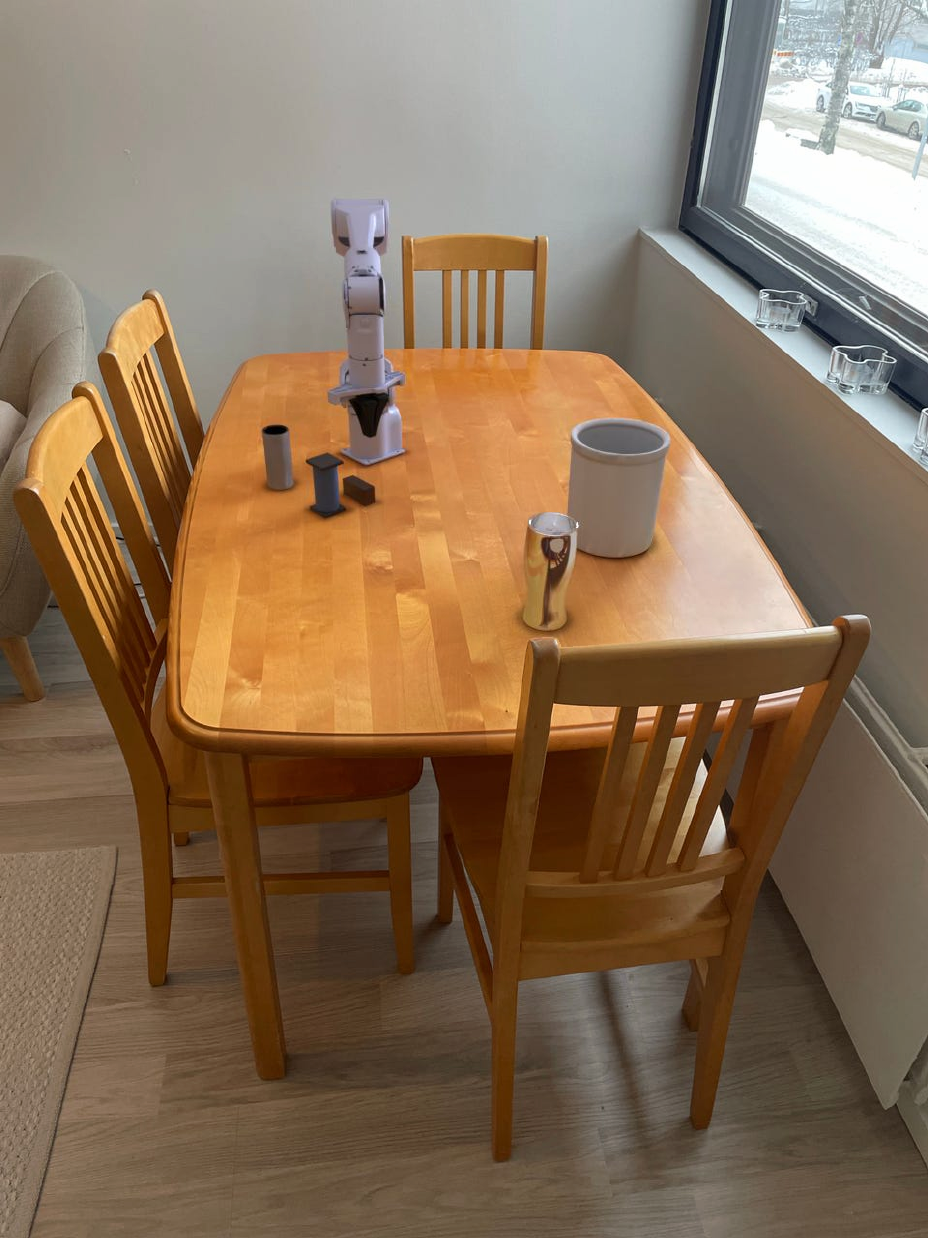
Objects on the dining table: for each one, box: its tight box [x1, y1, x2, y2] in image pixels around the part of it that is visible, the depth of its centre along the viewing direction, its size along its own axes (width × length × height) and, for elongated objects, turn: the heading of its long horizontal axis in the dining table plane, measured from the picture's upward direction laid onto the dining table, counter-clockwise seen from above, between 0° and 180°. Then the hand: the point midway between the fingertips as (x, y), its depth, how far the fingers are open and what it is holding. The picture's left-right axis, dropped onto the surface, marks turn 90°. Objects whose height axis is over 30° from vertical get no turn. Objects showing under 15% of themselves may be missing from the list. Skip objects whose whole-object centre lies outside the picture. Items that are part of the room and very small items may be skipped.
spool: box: [305, 452, 347, 519], centre depth 150 cm, size 10×4×9 cm
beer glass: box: [522, 511, 578, 632], centre depth 123 cm, size 7×7×15 cm
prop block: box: [342, 474, 376, 507], centre depth 155 cm, size 2×6×3 cm, turn 44°
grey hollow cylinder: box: [261, 424, 295, 491], centre depth 157 cm, size 4×4×10 cm
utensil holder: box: [566, 417, 671, 559], centre depth 142 cm, size 15×15×18 cm
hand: (369, 435), depth 153 cm, fingers closed
